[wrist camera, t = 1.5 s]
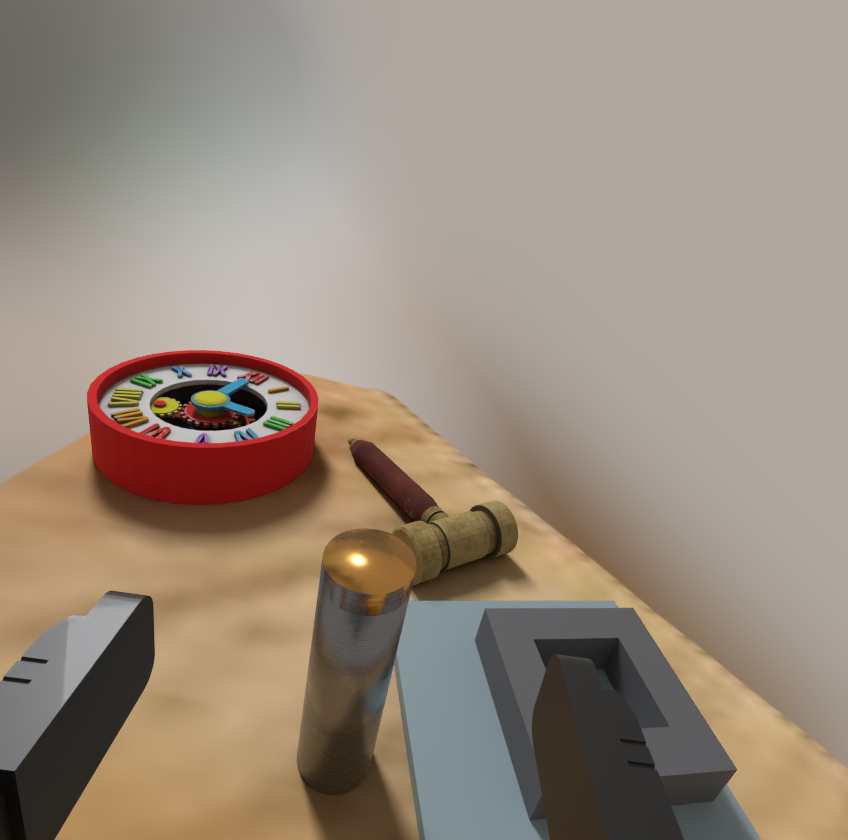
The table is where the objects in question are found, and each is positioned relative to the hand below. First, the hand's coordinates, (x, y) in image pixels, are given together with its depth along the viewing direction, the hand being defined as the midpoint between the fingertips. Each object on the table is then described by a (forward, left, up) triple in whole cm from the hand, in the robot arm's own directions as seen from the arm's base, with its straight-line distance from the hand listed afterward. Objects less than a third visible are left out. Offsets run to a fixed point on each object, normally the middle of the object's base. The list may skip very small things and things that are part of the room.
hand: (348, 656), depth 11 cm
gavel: (+9, +33, -21) cm, 41 cm away
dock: (+15, +11, -21) cm, 28 cm away
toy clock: (-9, +42, -21) cm, 48 cm away
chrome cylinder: (+2, +10, -21) cm, 23 cm away
